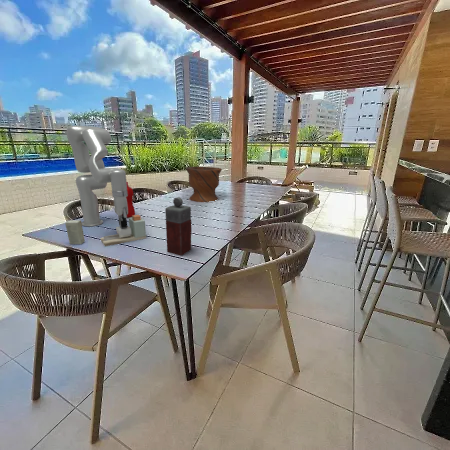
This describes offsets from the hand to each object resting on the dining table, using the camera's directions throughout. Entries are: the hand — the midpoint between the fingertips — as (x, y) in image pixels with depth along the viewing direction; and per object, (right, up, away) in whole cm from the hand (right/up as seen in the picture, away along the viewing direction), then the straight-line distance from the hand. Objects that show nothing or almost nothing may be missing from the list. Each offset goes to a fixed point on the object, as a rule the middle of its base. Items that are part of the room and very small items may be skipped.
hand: (123, 225), depth 137 cm
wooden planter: (+35, +26, +106) cm, 115 cm away
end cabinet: (+6, -5, +7) cm, 10 cm away
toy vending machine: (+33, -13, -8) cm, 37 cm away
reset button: (+6, +3, +4) cm, 8 cm away
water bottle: (-14, +7, +44) cm, 46 cm away
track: (-1, -8, +2) cm, 8 cm away
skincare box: (-23, -9, -4) cm, 25 cm away
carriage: (0, -6, +2) cm, 6 cm away
